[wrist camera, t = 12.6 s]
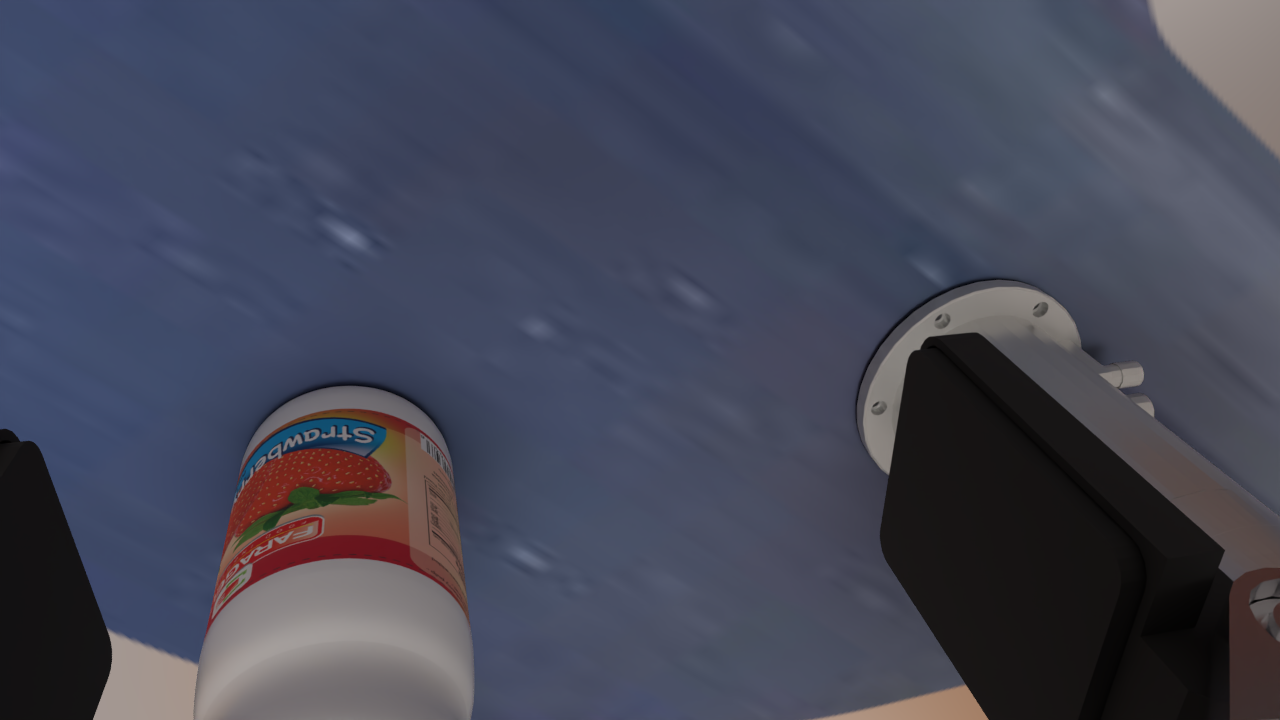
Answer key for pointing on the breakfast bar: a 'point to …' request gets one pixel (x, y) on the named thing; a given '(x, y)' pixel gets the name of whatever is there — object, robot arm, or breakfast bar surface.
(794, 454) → the breakfast bar surface
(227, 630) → the strawberry yogurt drink bottle
